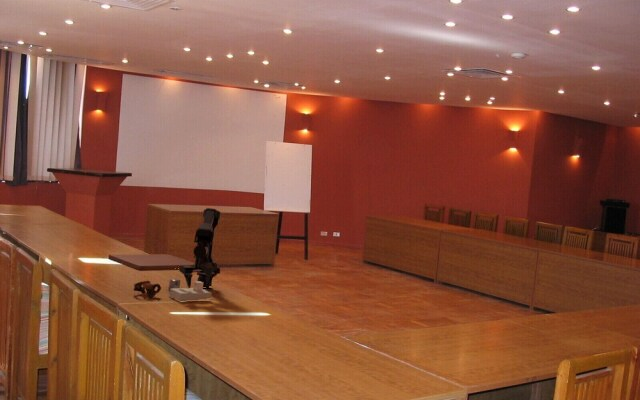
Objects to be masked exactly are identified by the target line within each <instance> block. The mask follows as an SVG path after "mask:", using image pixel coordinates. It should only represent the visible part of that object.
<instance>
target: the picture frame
mask: <svg viewBox="0 0 640 400" xmlns="http://www.w3.org/2000/svg"><path fill="white" fill-rule="evenodd" d="M108 260H110V261H113V262H116V263H119V264H122V265H124V266H126V267H130V268H132V269H135V270H137V271H162V270H163V271H164V269H171V270H179V269H180V267H181V266H190V267H192V268H194V267H193V264H195V262H193V261H190V260H187V259H184V258H181V257H178V256H175V255H171V254H168V253H167V254H166V253H164V254H163V253H161V254H159V253H157V254H156V253H155V254H152V253H151V254H141V253H139V254H138V253H137V254H108ZM175 268H176V269H175ZM178 268H179V269H178Z"/></svg>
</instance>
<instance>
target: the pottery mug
mask: <svg viewBox="0 0 640 400" xmlns="http://www.w3.org/2000/svg"><path fill="white" fill-rule="evenodd" d="M133 286H134V287H133V291H135V292H139V293H141V294H142V298H145V299H154V298H155V296H156V295H157V294H159V293H160V292H161V290H162V287H161V285H160V284H159V283H154V284H153V283H151V281H150V280H143V281H139V282H136V283H134V284H133ZM156 288H157V289H156ZM153 297H154V298H153Z"/></svg>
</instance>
